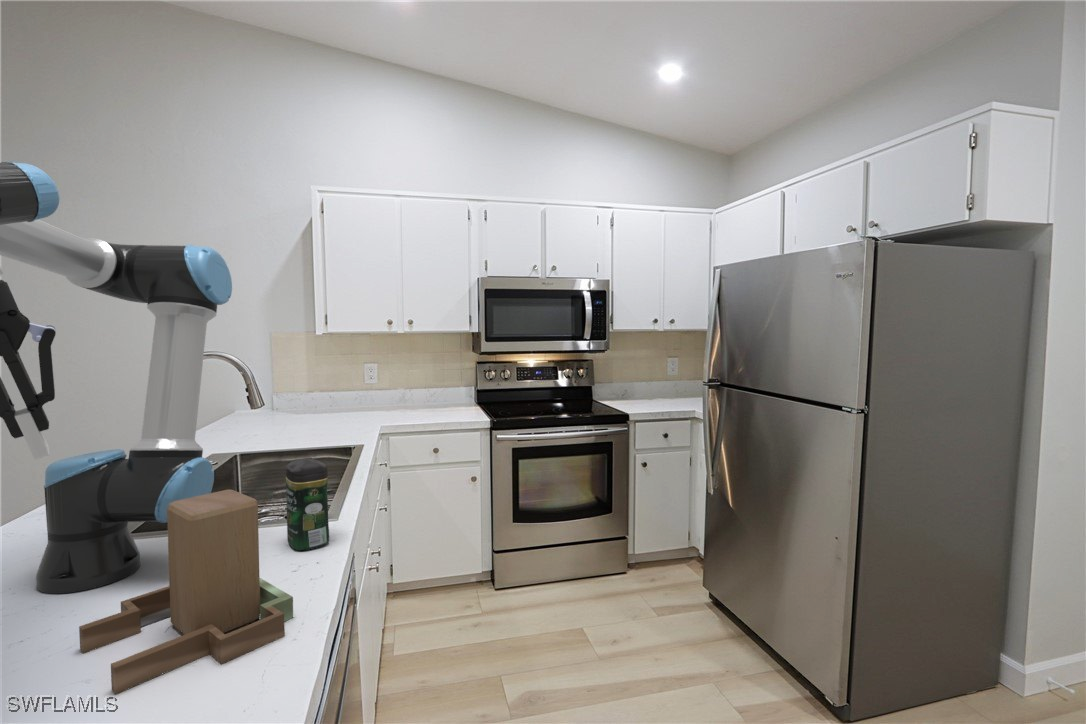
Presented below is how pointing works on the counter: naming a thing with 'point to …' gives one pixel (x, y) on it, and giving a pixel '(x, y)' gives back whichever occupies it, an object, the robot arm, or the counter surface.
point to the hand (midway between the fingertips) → (42, 453)
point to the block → (213, 561)
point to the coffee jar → (307, 504)
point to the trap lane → (188, 646)
